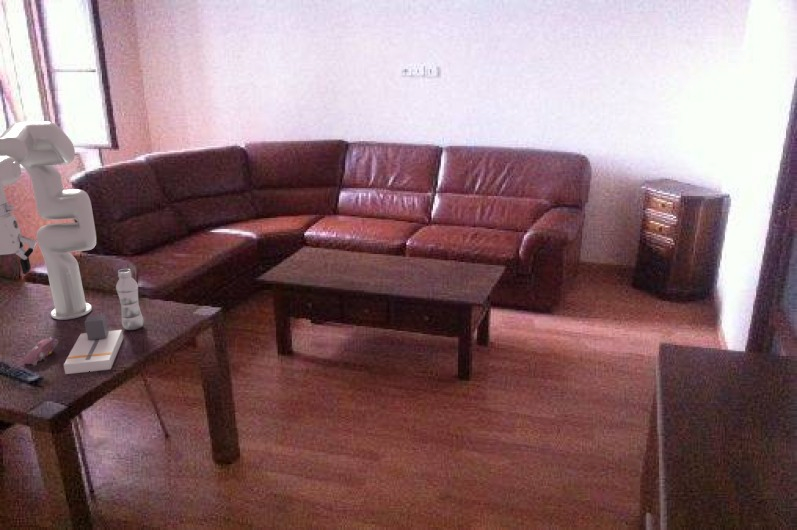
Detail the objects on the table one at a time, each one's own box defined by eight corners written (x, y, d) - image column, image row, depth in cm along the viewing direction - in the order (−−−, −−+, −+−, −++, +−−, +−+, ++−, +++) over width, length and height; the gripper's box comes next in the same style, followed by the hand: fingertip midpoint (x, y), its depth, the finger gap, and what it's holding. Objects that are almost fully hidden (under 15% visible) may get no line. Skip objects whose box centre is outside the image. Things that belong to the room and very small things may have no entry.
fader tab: (91, 334, 197) (87, 316, 195) (108, 332, 198) (105, 314, 196) (88, 339, 194) (84, 321, 192) (105, 338, 195) (102, 320, 193)
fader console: (82, 342, 200) (80, 333, 199) (123, 338, 202) (121, 329, 201) (65, 374, 181) (63, 364, 180) (110, 369, 184) (108, 359, 183)
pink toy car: (34, 370, 187) (39, 352, 184) (21, 363, 187) (25, 344, 184) (58, 354, 196) (63, 337, 193) (45, 347, 196) (49, 329, 193)
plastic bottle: (134, 322, 213) (124, 265, 206) (149, 326, 210) (139, 269, 203) (118, 330, 208) (108, 272, 201) (133, 334, 205) (123, 275, 198)
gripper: (33, 205, 168) (46, 266, 174) (-41, 209, 165) (-25, 272, 171) (24, 212, 161) (38, 276, 167) (-53, 217, 158) (-36, 282, 164)
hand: (6, 274), depth 169 cm, fingers open, 9 cm apart
